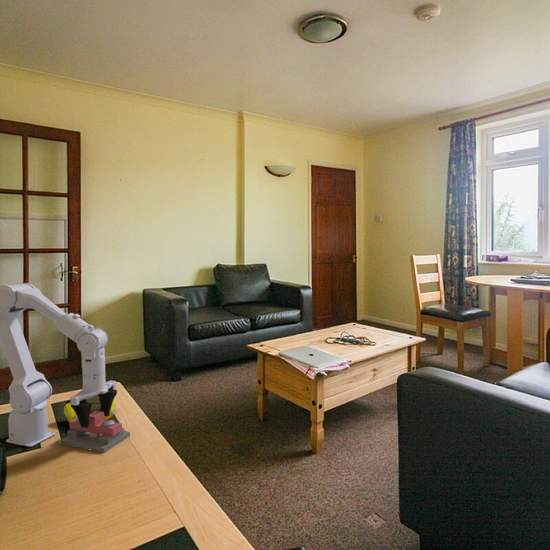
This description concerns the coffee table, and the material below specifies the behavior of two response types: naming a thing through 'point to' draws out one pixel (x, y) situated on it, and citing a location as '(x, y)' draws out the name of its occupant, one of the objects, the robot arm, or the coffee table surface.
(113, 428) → the frame bar
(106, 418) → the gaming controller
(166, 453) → the coffee table surface
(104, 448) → the display stand
